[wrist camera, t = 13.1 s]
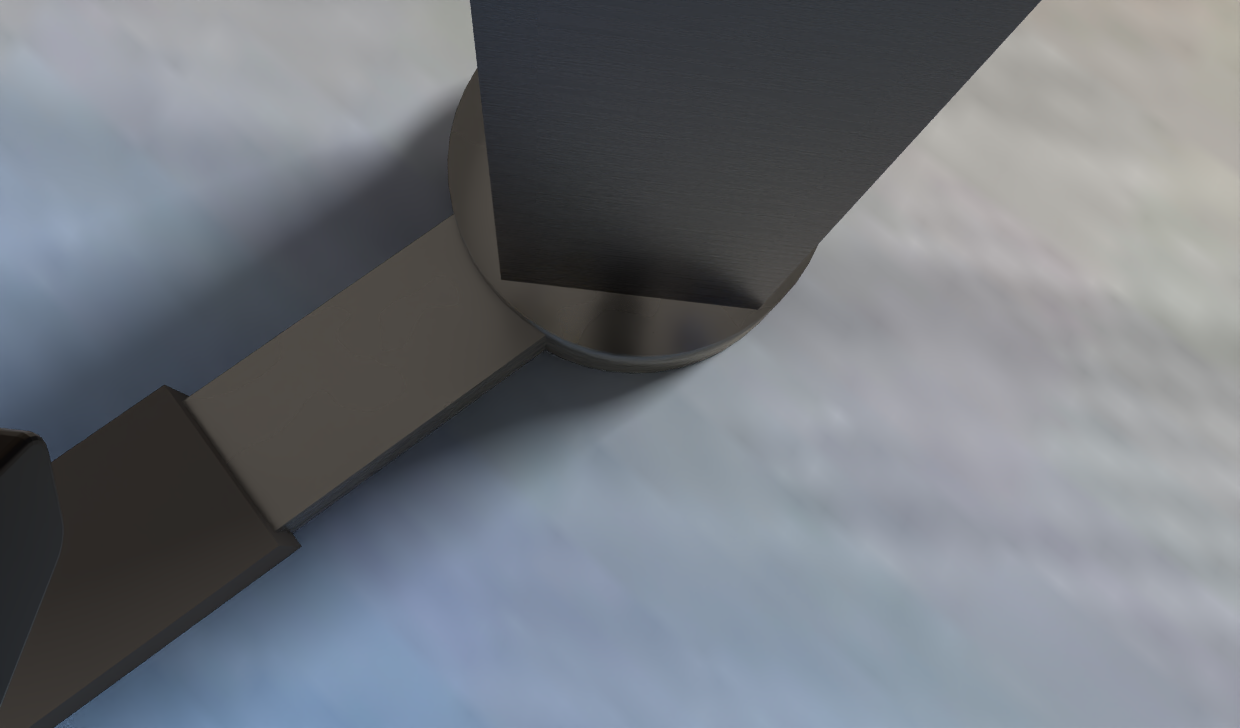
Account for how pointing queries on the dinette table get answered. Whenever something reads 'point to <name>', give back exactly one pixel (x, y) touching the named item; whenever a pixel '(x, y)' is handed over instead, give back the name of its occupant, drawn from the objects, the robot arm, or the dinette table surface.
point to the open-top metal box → (704, 129)
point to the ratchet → (312, 432)
